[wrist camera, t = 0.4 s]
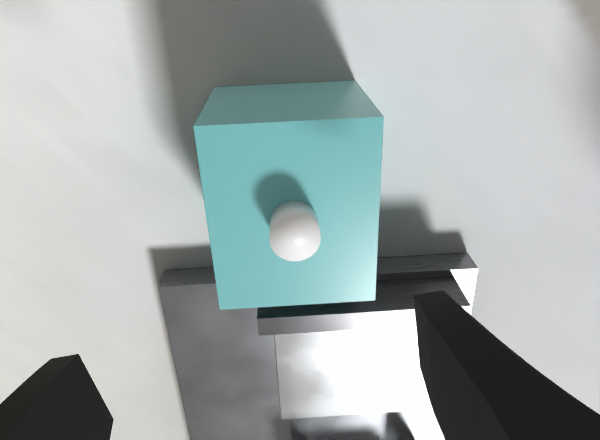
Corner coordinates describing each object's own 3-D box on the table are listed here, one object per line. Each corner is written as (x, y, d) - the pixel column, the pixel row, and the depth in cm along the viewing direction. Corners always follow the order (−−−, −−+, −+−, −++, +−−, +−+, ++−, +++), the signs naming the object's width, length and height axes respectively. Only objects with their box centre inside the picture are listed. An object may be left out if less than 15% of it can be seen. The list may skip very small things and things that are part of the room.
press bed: (467, 252, 20) (503, 304, 17) (431, 496, 28) (451, 562, 25) (164, 270, 20) (143, 326, 17) (213, 511, 28) (205, 581, 25)
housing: (354, 79, 17) (392, 127, 11) (352, 226, 20) (381, 320, 14) (214, 86, 17) (187, 138, 11) (232, 233, 19) (216, 330, 14)
